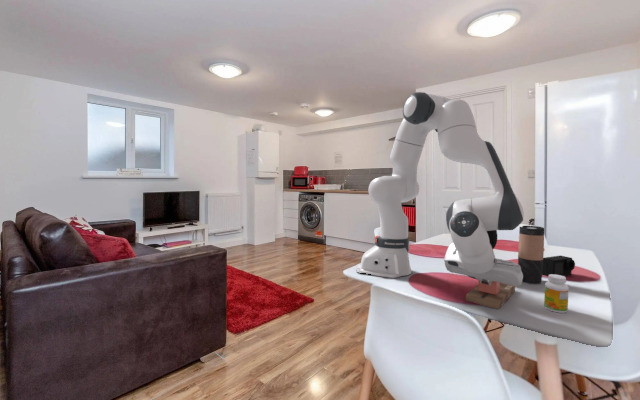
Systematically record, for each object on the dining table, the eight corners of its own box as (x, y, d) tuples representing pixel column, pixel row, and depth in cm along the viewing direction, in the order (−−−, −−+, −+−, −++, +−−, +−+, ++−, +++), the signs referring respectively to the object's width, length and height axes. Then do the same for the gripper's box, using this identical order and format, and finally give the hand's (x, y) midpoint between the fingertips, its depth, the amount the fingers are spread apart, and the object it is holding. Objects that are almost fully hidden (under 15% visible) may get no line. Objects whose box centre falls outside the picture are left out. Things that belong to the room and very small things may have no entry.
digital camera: (556, 279, 114) (557, 260, 113) (541, 274, 119) (542, 257, 118) (574, 276, 117) (575, 258, 117) (559, 272, 122) (560, 255, 122)
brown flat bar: (498, 309, 87) (498, 302, 87) (465, 300, 94) (465, 294, 94) (514, 291, 102) (515, 285, 102) (485, 284, 108) (485, 279, 108)
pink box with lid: (496, 295, 92) (498, 262, 91) (477, 290, 96) (478, 259, 95) (501, 291, 95) (502, 259, 95) (481, 287, 99) (482, 256, 98)
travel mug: (546, 284, 108) (549, 229, 106) (522, 283, 109) (525, 228, 108) (535, 277, 115) (538, 225, 114) (513, 276, 117) (515, 225, 115)
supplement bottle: (539, 305, 90) (540, 273, 89) (556, 305, 90) (557, 273, 90) (554, 313, 85) (556, 279, 84) (572, 312, 85) (574, 279, 84)
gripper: (522, 254, 80) (528, 281, 88) (444, 242, 94) (455, 267, 102) (517, 274, 77) (524, 300, 85) (438, 259, 92) (450, 283, 99)
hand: (486, 282), depth 94 cm, fingers closed, pressing on pink box with lid
